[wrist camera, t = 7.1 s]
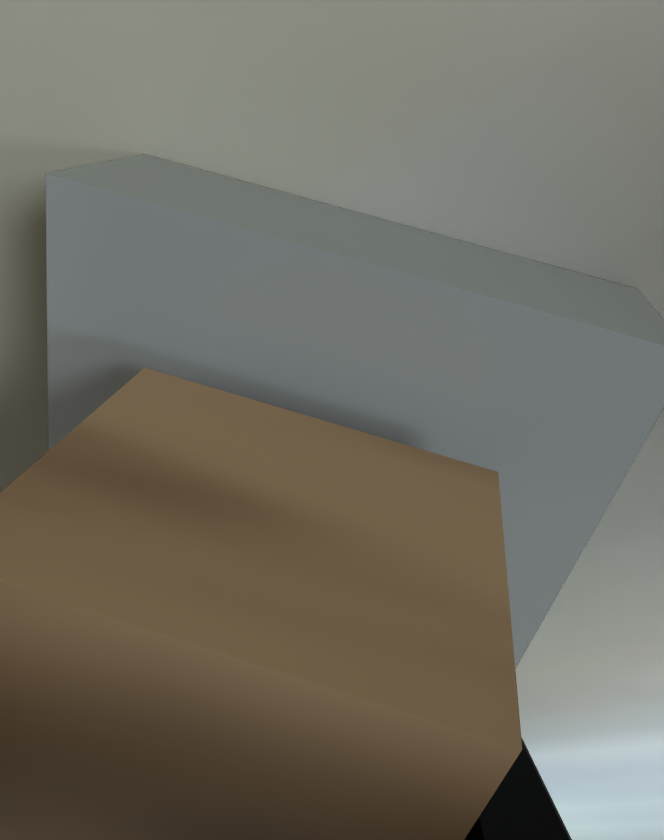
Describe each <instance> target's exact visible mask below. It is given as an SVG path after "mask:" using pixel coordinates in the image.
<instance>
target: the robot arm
mask: <svg viewBox="0 0 664 840" xmlns="http://www.w3.org/2000/svg"><path fill="white" fill-rule="evenodd" d="M521 741H522V751H521V752H520V754H519V755H518V757H517V759H516V760H515V762H514V763H513V765H512V766H511V768H510V769H509V771H508V772H507V774H506V776H505V777H504V779H503V780H502V782H501V783H500V785H499V786H498V788H497V790H496V791H495V793H494V794H493V796H492V797H491V799H490V800H489V802H488V804H487V805H486V807H485V808H484V810H483V811H482V813H481V814H480V816H479V818H478V819H477V821H476V822H475V824H474V825H473V827H472V828H471V830H470V831H469V833H468V835H467V836H466V838H465V839H464V840H572V839H571V837H570V835H569V833H568V831H567V829H566V827H565V825H564V823H563V821H562V819H561V817H560V815H559V813H558V811H557V809H556V807H555V805H554V802H553V800H552V798H551V796H550V794H549V792H548V790H547V788H546V786H545V784H544V782H543V780H542V778H541V776H540V774H539V772H538V770H537V768H536V766H535V764H534V762H533V760H532V758H531V756H530V754H529V752H528V749H527V747H526V745H525V743H524V741H523V739H522V737H521Z"/></svg>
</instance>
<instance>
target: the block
mask: <svg viewBox="0 0 664 840" xmlns="http://www.w3.org/2000/svg"><path fill="white" fill-rule="evenodd" d="M521 751H522V741H521V729H520V718H519V706H518V695H517V683H516V672H515V660H514V649H513V637H512V625H511V614H510V602H509V591H508V579H507V568H506V556H505V545H504V533H503V521H502V510H501V498H500V487H499V475H498V472H497V471H494V470H490V469H487V468H483V467H480V466H477V465H473V464H470V463H466V462H463V461H460V460H456V459H453V458H449V457H446V456H443V455H439V454H436V453H433V452H429V451H426V450H422V449H419V448H416V447H412V446H409V445H405V444H402V443H399V442H395V441H392V440H389V439H385V438H382V437H378V436H375V435H372V434H368V433H365V432H361V431H358V430H355V429H351V428H348V427H344V426H341V425H338V424H334V423H331V422H328V421H324V420H321V419H317V418H314V417H311V416H307V415H304V414H300V413H297V412H294V411H290V410H287V409H283V408H280V407H277V406H273V405H270V404H267V403H263V402H260V401H256V400H253V399H250V398H246V397H243V396H239V395H236V394H233V393H229V392H226V391H223V390H219V389H216V388H212V387H209V386H206V385H202V384H199V383H195V382H192V381H189V380H185V379H182V378H178V377H175V376H172V375H168V374H165V373H162V372H158V371H155V370H151V369H148V368H144V369H142V370H141V371H140V372H139V373H138V374H137V375H135V376H134V377H133V378H132V379H131V380H130V381H129V382H127V383H126V384H125V385H124V386H123V387H122V388H120V389H119V390H118V391H117V392H116V393H115V394H113V395H112V396H111V397H110V398H109V399H108V400H107V401H105V402H104V403H103V404H102V405H101V406H100V407H98V408H97V409H96V410H95V411H94V412H93V413H92V414H90V415H89V416H88V417H87V418H86V419H85V420H83V421H82V422H81V423H80V424H79V425H78V426H77V427H75V428H74V429H73V430H72V431H71V432H70V433H68V434H67V435H66V436H65V437H64V438H63V439H62V440H60V441H59V442H58V443H57V444H56V445H55V446H53V447H52V448H51V449H50V450H49V451H48V452H46V453H45V454H44V455H43V456H42V457H41V458H40V459H38V460H37V461H36V462H35V463H34V464H33V465H31V466H30V467H29V468H28V469H27V470H26V471H25V472H23V473H22V474H21V475H20V476H19V477H18V478H16V479H15V480H14V481H13V482H12V483H11V484H10V485H8V486H7V487H6V488H5V489H4V490H3V491H1V492H0V840H464V839H465V838H466V836H467V835H468V833H469V831H470V830H471V828H472V827H473V825H474V824H475V822H476V821H477V819H478V818H479V816H480V814H481V813H482V811H483V810H484V808H485V807H486V805H487V804H488V802H489V800H490V799H491V797H492V796H493V794H494V793H495V791H496V790H497V788H498V786H499V785H500V783H501V782H502V780H503V779H504V777H505V776H506V774H507V772H508V771H509V769H510V768H511V766H512V765H513V763H514V762H515V760H516V759H517V757H518V755H519V754H520V752H521Z"/></svg>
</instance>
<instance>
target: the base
mask: <svg viewBox="0 0 664 840" xmlns="http://www.w3.org/2000/svg"><path fill="white" fill-rule="evenodd" d="M46 266H47V370H48V451H49V450H50V449H51V448H52V447H53V446H55V445H56V444H57V443H58V442H59V441H60V440H62V439H63V438H64V437H65V436H66V435H67V434H68V433H70V432H71V431H72V430H73V429H74V428H75V427H77V426H78V425H79V424H80V423H81V422H82V421H83V420H85V419H86V418H87V417H88V416H89V415H90V414H92V413H93V412H94V411H95V410H96V409H97V408H98V407H100V406H101V405H102V404H103V403H104V402H105V401H107V400H108V399H109V398H110V397H111V396H112V395H113V394H115V393H116V392H117V391H118V390H119V389H120V388H122V387H123V386H124V385H125V384H126V383H127V382H129V381H130V380H131V379H132V378H133V377H134V376H135V375H137V374H138V373H139V372H140V371H141V370H142V369H144V368H148V369H151V370H155V371H158V372H162V373H165V374H168V375H172V376H175V377H178V378H182V379H185V380H189V381H192V382H195V383H199V384H202V385H206V386H209V387H212V388H216V389H219V390H223V391H226V392H229V393H233V394H236V395H239V396H243V397H246V398H250V399H253V400H256V401H260V402H263V403H267V404H270V405H273V406H277V407H280V408H283V409H287V410H290V411H294V412H297V413H300V414H304V415H307V416H311V417H314V418H317V419H321V420H324V421H328V422H331V423H334V424H338V425H341V426H344V427H348V428H351V429H355V430H358V431H361V432H365V433H368V434H372V435H375V436H378V437H382V438H385V439H389V440H392V441H395V442H399V443H402V444H405V445H409V446H412V447H416V448H419V449H422V450H426V451H429V452H433V453H436V454H439V455H443V456H446V457H449V458H453V459H456V460H460V461H463V462H466V463H470V464H473V465H477V466H480V467H483V468H487V469H490V470H494V471H497V472H498V475H499V487H500V498H501V510H502V521H503V533H504V545H505V556H506V568H507V579H508V591H509V602H510V614H511V625H512V637H513V649H514V660H515V669H516V667H517V665H518V663H519V662H520V660H521V658H522V656H523V655H524V653H525V651H526V649H527V648H528V646H529V644H530V642H531V641H532V639H533V637H534V635H535V634H536V632H537V630H538V628H539V626H540V625H541V623H542V621H543V619H544V618H545V616H546V614H547V612H548V611H549V609H550V607H551V605H552V604H553V602H554V600H555V598H556V597H557V595H558V593H559V591H560V590H561V588H562V586H563V584H564V583H565V581H566V579H567V577H568V575H569V574H570V572H571V570H572V568H573V567H574V565H575V563H576V561H577V560H578V558H579V556H580V554H581V553H582V551H583V549H584V547H585V546H586V544H587V542H588V540H589V539H590V537H591V535H592V533H593V531H594V530H595V528H596V526H597V524H598V523H599V521H600V519H601V517H602V516H603V514H604V512H605V510H606V509H607V507H608V505H609V503H610V502H611V500H612V498H613V496H614V495H615V493H616V491H617V489H618V488H619V486H620V484H621V482H622V480H623V479H624V477H625V475H626V473H627V472H628V470H629V468H630V466H631V465H632V463H633V461H634V459H635V458H636V456H637V454H638V452H639V451H640V449H641V447H642V445H643V444H644V442H645V440H646V438H647V437H648V435H649V433H650V431H651V429H652V428H653V426H654V424H655V422H656V421H657V419H658V417H659V415H660V414H661V412H662V410H663V408H664V318H663V317H662V316H661V315H660V314H659V313H658V311H657V310H656V309H655V308H654V307H653V306H652V305H651V303H650V302H649V301H648V300H647V299H646V298H645V297H644V296H643V294H642V293H641V292H640V291H639V290H638V289H636V288H632V287H628V286H625V285H621V284H617V283H614V282H610V281H606V280H603V279H599V278H595V277H592V276H588V275H584V274H581V273H577V272H573V271H570V270H566V269H562V268H559V267H555V266H551V265H548V264H544V263H541V262H537V261H533V260H530V259H526V258H522V257H519V256H515V255H511V254H508V253H504V252H500V251H497V250H493V249H489V248H486V247H482V246H478V245H475V244H471V243H467V242H464V241H460V240H456V239H453V238H449V237H445V236H442V235H438V234H435V233H431V232H427V231H424V230H420V229H416V228H413V227H409V226H405V225H402V224H398V223H394V222H391V221H387V220H383V219H380V218H376V217H372V216H369V215H365V214H361V213H358V212H354V211H350V210H347V209H343V208H340V207H336V206H332V205H329V204H325V203H321V202H318V201H314V200H310V199H307V198H303V197H299V196H296V195H292V194H288V193H285V192H281V191H277V190H274V189H270V188H266V187H263V186H259V185H255V184H252V183H248V182H244V181H241V180H237V179H234V178H230V177H226V176H223V175H219V174H215V173H212V172H208V171H204V170H201V169H197V168H193V167H190V166H186V165H182V164H179V163H175V162H171V161H168V160H164V159H160V158H157V157H153V156H149V155H146V154H141V155H136V156H130V157H125V158H120V159H115V160H110V161H105V162H100V163H95V164H90V165H85V166H80V167H75V168H70V169H65V170H60V171H55V172H50V173H46Z"/></svg>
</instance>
